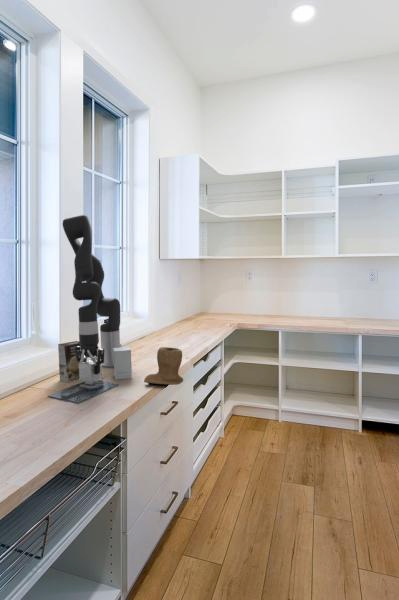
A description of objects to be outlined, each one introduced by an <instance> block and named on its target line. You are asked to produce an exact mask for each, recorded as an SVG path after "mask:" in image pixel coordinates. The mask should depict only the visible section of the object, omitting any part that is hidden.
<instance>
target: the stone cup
mask: <svg viewBox="0 0 399 600" xmlns="http://www.w3.org/2000/svg"><path fill="white" fill-rule="evenodd" d="M182 358H183V350H182V349H180V348H177V347H167V346H165V347H164V346H163V347H162V346H161V347H159V348H158V350H157V352H156V362H157V365H158V372H156V373H152V374H151V373H150V374H148V375H146V377H144V380H143V382H144V383H146V384H155V385H174V386H175V385H176V386H177V385H180V384H181V383H183V382H184V377H183V376H180V375H179V372H180V371H179V370H180V367H181V365H182V364H181V363H182V361H183V360H182Z"/></svg>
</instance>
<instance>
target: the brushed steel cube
mask: <svg viewBox="0 0 399 600" xmlns="http://www.w3.org/2000/svg"><path fill="white" fill-rule="evenodd" d="M96 362H97V360H96ZM102 369H103V366H102V364H100V373H99V374H97V375H96V374H94V363H93V361H92V360H91V359H87V361H85V362H82V363H79V378H80V379H79V381H81V382H84V381H85V382H90V383H91V382H94V381H96V380H102V379H103V372H102V371H103V370H102Z"/></svg>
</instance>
